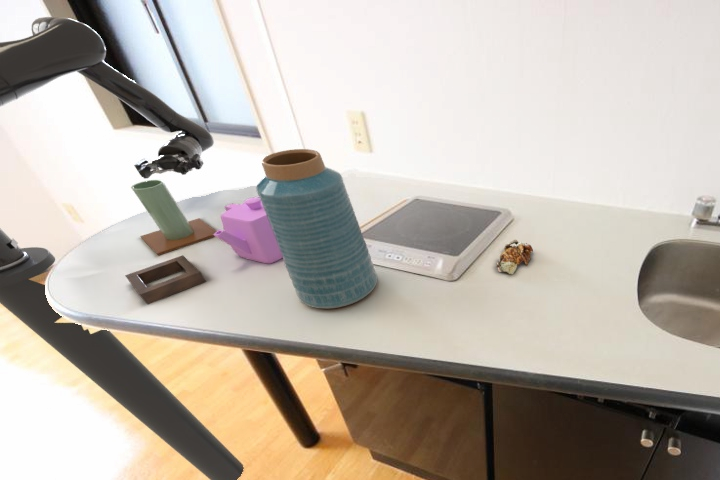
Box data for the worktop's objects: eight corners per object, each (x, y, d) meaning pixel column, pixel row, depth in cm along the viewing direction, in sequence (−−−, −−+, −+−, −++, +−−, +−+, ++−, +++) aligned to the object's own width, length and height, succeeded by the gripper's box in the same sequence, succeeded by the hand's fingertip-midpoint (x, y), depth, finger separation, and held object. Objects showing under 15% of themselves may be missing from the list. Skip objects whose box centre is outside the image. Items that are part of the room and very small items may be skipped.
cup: (170, 242, 92) (135, 191, 83) (162, 235, 95) (127, 185, 86) (197, 233, 96) (166, 183, 87) (188, 226, 99) (158, 178, 90)
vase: (366, 312, 72) (320, 174, 54) (285, 312, 72) (212, 173, 54) (386, 268, 84) (355, 142, 66) (317, 267, 84) (266, 142, 66)
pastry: (492, 271, 82) (491, 258, 80) (507, 246, 91) (507, 233, 88) (521, 277, 81) (522, 263, 78) (534, 251, 89) (535, 238, 87)
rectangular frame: (147, 304, 74) (139, 294, 72) (132, 284, 79) (124, 275, 78) (206, 281, 80) (200, 271, 79) (189, 264, 85) (182, 255, 84)
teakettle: (308, 227, 99) (290, 181, 91) (312, 256, 88) (292, 206, 80) (238, 240, 94) (212, 193, 86) (234, 272, 83) (203, 221, 74)
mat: (158, 255, 88) (156, 253, 88) (141, 238, 95) (140, 236, 95) (219, 234, 96) (218, 232, 96) (200, 220, 103) (199, 218, 103)
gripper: (142, 143, 102) (119, 160, 90) (200, 138, 105) (185, 154, 94) (159, 171, 107) (139, 190, 95) (214, 165, 110) (201, 183, 99)
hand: (162, 172), depth 95 cm, fingers open, 8 cm apart
